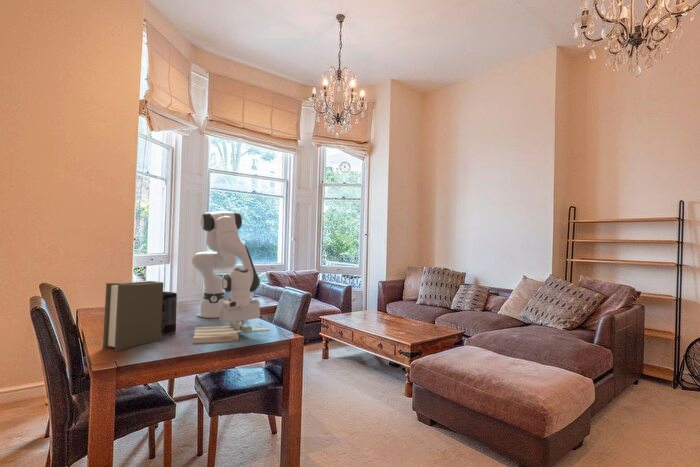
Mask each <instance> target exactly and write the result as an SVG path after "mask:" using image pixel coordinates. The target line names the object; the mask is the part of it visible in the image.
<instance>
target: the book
mask: <svg viewBox="0 0 700 467" xmlns="http://www.w3.org/2000/svg"><path fill="white" fill-rule="evenodd" d="M105 284H106V285H105V301H104V303H105V304H104V317H103V318H104V320H103V337H102V340H103V341H102V349H104V350H106V349H108V348H111V347H113V348H114V352H117V353H118V352H121V351H123V350H126V349H129V348H132V347H136V346H140V345H144V344H149V343H153V342H158V341H161V339H162V336H161V335H162V334H161V320H162V300H163V292H164V282H163V281H156V280H155V281H154V280H146V281H136V282H135V281H133V282H123V283H121V282H119V283H117V282H106V283H105Z"/></svg>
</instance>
